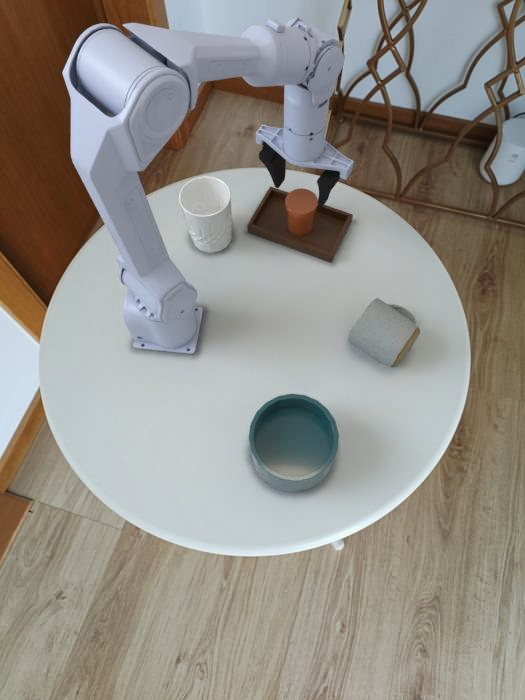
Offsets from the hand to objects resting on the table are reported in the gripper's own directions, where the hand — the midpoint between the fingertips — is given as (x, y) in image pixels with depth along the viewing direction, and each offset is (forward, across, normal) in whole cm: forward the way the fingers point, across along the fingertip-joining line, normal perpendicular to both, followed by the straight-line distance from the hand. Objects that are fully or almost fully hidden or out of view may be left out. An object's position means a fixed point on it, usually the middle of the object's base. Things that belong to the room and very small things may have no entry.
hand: (301, 192), depth 83 cm
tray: (+9, 0, 0) cm, 9 cm away
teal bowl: (+9, -18, +34) cm, 39 cm away
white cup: (+9, +12, +9) cm, 17 cm away
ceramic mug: (+9, -21, +12) cm, 26 cm away
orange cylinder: (+8, 0, 0) cm, 8 cm away
